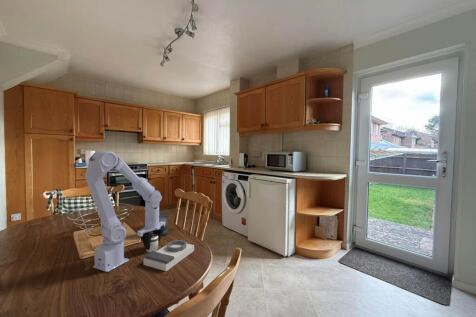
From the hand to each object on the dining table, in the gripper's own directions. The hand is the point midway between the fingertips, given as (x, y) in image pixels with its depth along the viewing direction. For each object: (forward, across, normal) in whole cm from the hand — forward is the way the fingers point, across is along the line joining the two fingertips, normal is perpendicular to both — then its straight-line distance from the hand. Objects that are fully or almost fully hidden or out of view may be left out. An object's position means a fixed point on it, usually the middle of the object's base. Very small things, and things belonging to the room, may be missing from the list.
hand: (152, 246), depth 96 cm
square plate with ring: (+1, -2, -12) cm, 12 cm away
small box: (+2, +15, +11) cm, 19 cm away
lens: (+1, 0, 0) cm, 1 cm away
